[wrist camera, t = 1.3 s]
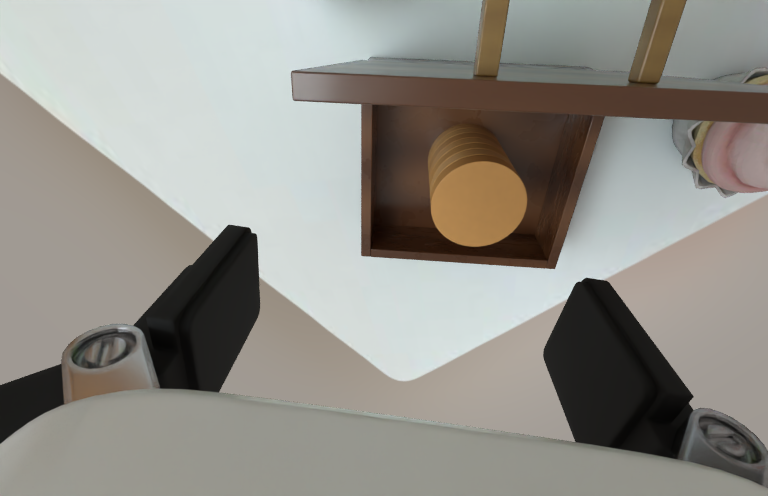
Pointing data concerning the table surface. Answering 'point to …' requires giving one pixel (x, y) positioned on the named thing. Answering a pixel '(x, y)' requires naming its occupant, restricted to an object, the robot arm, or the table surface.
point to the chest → (412, 192)
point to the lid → (542, 81)
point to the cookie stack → (474, 187)
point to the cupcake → (726, 148)
